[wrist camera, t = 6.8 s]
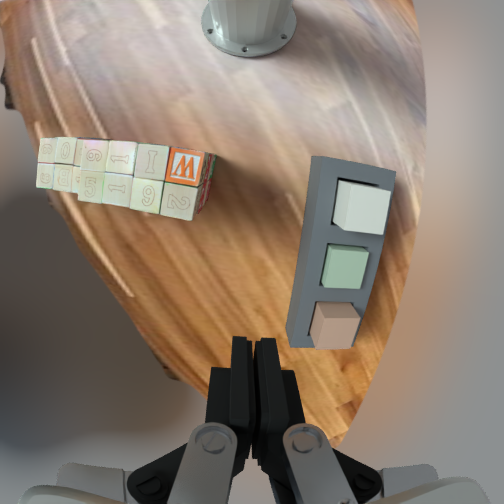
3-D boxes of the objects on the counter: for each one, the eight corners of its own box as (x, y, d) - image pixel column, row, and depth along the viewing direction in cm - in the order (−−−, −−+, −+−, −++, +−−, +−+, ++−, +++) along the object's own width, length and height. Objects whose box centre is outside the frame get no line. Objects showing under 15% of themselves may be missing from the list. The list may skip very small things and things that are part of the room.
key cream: (336, 179, 31) (351, 184, 26) (371, 185, 31) (390, 191, 27) (330, 219, 33) (344, 230, 28) (365, 223, 33) (382, 234, 28)
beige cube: (315, 298, 36) (324, 318, 32) (347, 299, 37) (360, 318, 32) (308, 328, 38) (315, 349, 33) (339, 328, 38) (350, 348, 34)
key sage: (321, 237, 36) (332, 249, 31) (354, 240, 36) (368, 252, 32) (314, 271, 38) (324, 287, 33) (347, 273, 38) (359, 288, 33)
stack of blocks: (73, 178, 33) (19, 191, 21) (78, 136, 31) (24, 136, 19) (208, 200, 35) (192, 222, 24) (218, 153, 33) (206, 152, 22)
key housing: (311, 156, 33) (324, 156, 28) (378, 168, 34) (398, 171, 29) (285, 327, 42) (290, 350, 37) (343, 328, 43) (354, 348, 37)
